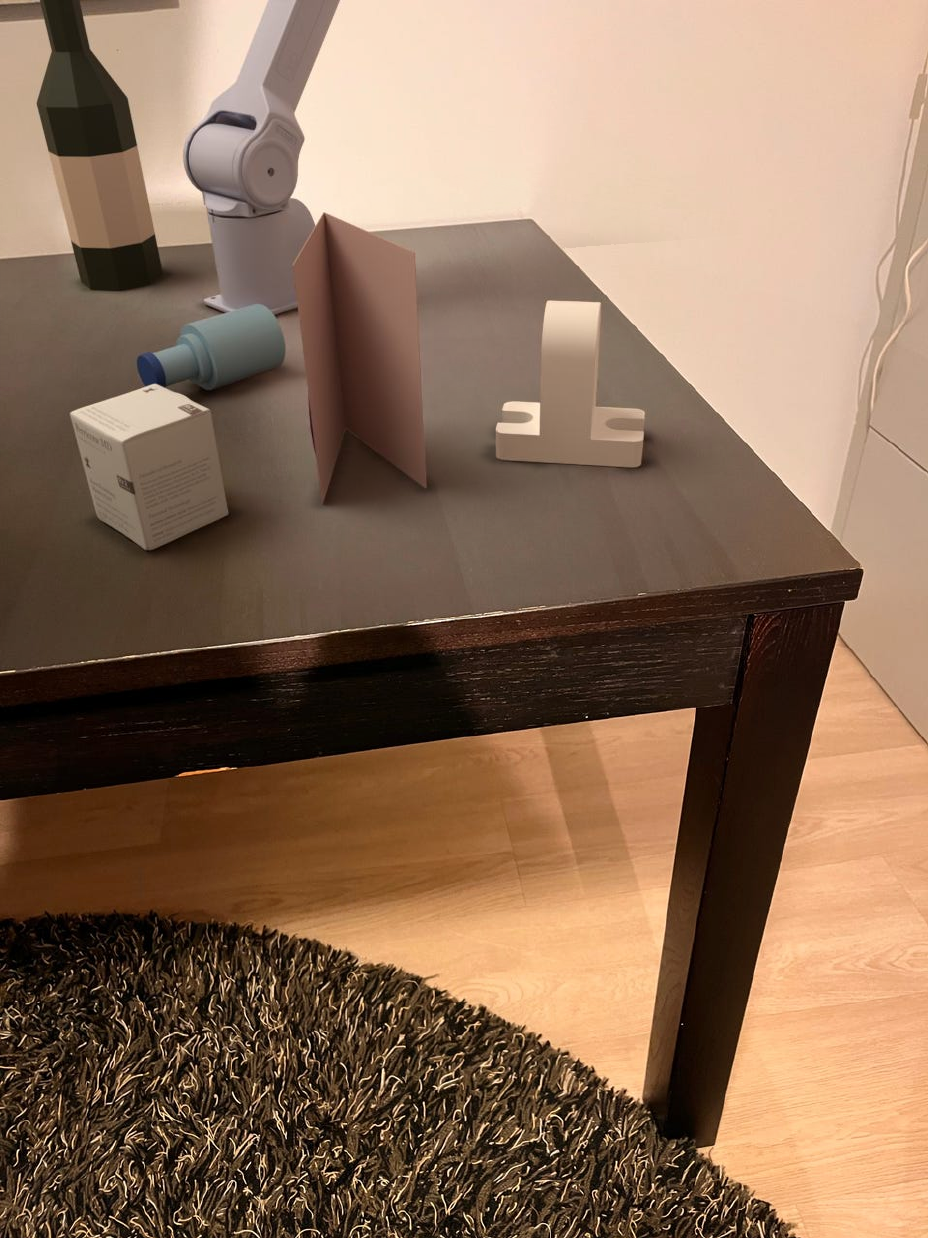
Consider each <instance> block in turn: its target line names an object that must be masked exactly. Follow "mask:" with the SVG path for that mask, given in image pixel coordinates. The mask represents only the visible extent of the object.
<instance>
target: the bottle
mask: <svg viewBox="0 0 928 1238" xmlns="http://www.w3.org/2000/svg"><path fill="white" fill-rule="evenodd" d="M279 322H280V321H278V318H277V317H276V315H274V314H273V313H272V312H271V311H270V310H269V309H268V308H267V307H266V306H264V305H262V304H254V305H251V306H247V307H244V308H240V309H237V310H234V311H230V312H227V313H225V312H224V313H221V314H217V315H214V316H210V317H206V318H203V319H200V320H196V321H193V322H190V323H187V324H184V325H183V327H182V328H181V330H180V335H179V337H177V339H176V342H175V346H172V347H168V348H165V349H161V350H159V351H155V352H153V353H152V352H145V353H142V354H139V355H138V356H137V358H136V369H137V372H138V375H139V377H140V380H141V382H142V384H143V386H144V387H146V386H149V385H152V384H158V385H160V386H162V387H164V388H167V387H170V386H173V385H175V384H178V383H182V382H185V381H187V380H189V381H190V382H191V383H192V384H195V385H198V386H199V387H200V388H202V389H204V390H206V391H213V390H215V389H219V388H221V387H225V386H227V385H229V384H233V383H236V382H239V381H242V380H244V379H247V378H251V377H253V376H257V375H259V374H262V373H264V372H268V371H272V370H273V369H276V368H279V367H281V366H282V365H283V363H284V361H285V359H286V354H287V353H286V352H287V351H286V350H287V349H286V340H285V336H284V332H283V330H282V327H281V325H280V323H279Z"/></svg>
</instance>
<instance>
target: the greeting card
mask: <svg viewBox="0 0 928 1238" xmlns="http://www.w3.org/2000/svg"><path fill="white" fill-rule="evenodd" d="M416 264H417V263H416V252H415V251H412V250H411V249H408V248H406V247H404V246H401V245H399V244H397V243H395V242H392V241H390V240H389V239H386V238H384V237H381V236H380V235H377V234H374V233H372V232H370V231H368V230H366V229H363V228H361V227H359V226H356V225H355V224H352V223H349V222H347V221H345V220H343V219H342V218H341V219H340V218H338V217H336V216H334V215H332V214H330V213H327V212H322V214H321V216H320V217H319V219H318V221H317V223H315V228H314V229H313V231H312V233H311V235H310V236H309V238H308V240H307V241H306V243H305V245H304V246H303V248H302V250H301V252H300V253H299V255H298V257H297V258H296V260H295V262H294V264H293V271H294V279H295V285H294V286H295V290H296V295H297V304H298V308H297V312H298V319H299V328H300V335H301V342H302V353H303V360H304V368H305V376H306V385H307V396H308V399H307V401H308V416H309V417H308V418H309V426H310V433H311V440H312V447H313V450H314V454H315V459H316V465H317V466H316V467H317V474H318V485H319V491H320V499H321V505H324V502H325V499H326V495H327V491H328V489H329V485H330V481H331V478H332V476H333V475H332V474H333V472H334V468H335V465H336V462H337V458H338V455H339V453H340V448H341V445H342V442H343V439H344V435H345V432H346V430H348V431H349V432H350V433H352V434H353V435H354V436H355V437H357V438H358V439H359V440H361V441H362V442H363V443H365V444H366V445H367V446H369V447H370V448H371V449H373V450H374V451H375V452H377V453H378V454H379V455H381V457H383V458H385V459H386V460H387V461H389V462H390V463H391V464H393V466H395V467H396V468H398V469H399V470H401V472H403V473H404V474H406V475H407V476H408V477H409V478H411V479H412V480H414V481H415V482H416V483H418V484H419V485H420V486H421V487H423V488H424V489H427V488H428V487H427V470H426V451H425V449H426V447H425V430H424V429H425V428H424V427H425V426H424V409H423V407H424V406H423V387H422V370H421V369H422V368H421V366H422V365H421V347H420V329H419V325H420V324H419V308H418V307H419V306H418V286H417V268H416Z"/></svg>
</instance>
